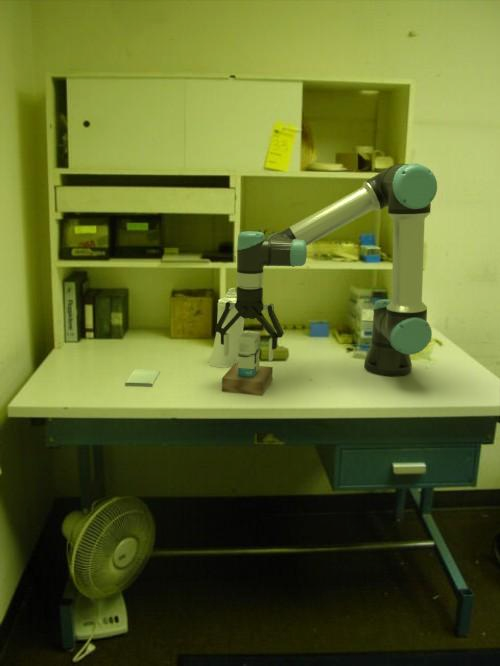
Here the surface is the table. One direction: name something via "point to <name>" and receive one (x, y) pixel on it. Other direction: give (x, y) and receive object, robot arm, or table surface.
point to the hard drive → (143, 378)
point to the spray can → (234, 332)
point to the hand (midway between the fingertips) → (248, 357)
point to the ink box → (248, 353)
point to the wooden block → (247, 381)
